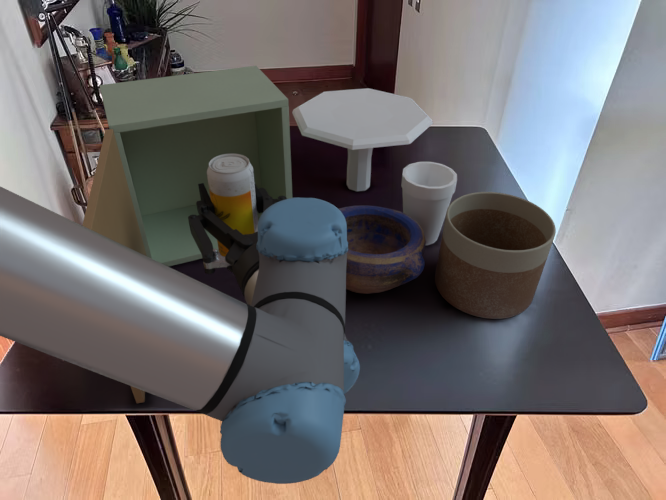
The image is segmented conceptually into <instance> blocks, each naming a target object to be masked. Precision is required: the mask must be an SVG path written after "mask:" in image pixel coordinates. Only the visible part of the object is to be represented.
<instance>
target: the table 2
mask: <svg viewBox="0 0 666 500" xmlns="http://www.w3.org/2000/svg"><path fill="white" fill-rule="evenodd" d="M291 113H292V116H293V118H294V121H295V122H296V125H297V128H298V129H299V132H300V134H301V136H302V137H306V138H310V139H314V140H317V141H321V142H324V143H327V144H331V145H334V146H337V147H342V148H344V149H347V164H346V186H347V188H348V189H349V190H351V191H354V192H365V191H367V190H369V188H370V187H371V177H372V174H371V173H372V155H373V150H374V148H384V147H393V146H404V145H406V146H407V145H411V144H412V143H413V142H415V140H416V139H418V138H419V136H421V135H422V134H423V133H424V132H425V131H426V130H428V128H430V127H431V126H432V125H433V124H434V122H433V119H432V118H431V117H430V116H429V115H428V114H427V113H426V111H424V109H423V108H421V107H420V105H419V104H418V103H416V101H415V100H414V99H413V98H411V97H409V96H405V95H399V94H395V93H391V92H386V91H382V90H379V89H375V88H374V89H373V88H369V87H367V88H354V89H340V90H327V91H323V92H320V93H318V94H317V95H315V96H314V97H312V98H311V99H309V100H307V101H306V102H304V103H302V104H301V105H298V106H297V107H295V108H293V109H292V112H291Z"/></svg>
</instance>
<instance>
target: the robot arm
mask: <svg viewBox="0 0 666 500" xmlns="http://www.w3.org/2000/svg"><path fill="white" fill-rule="evenodd" d="M198 186H199V192H200V198H201V200H200V201H197V202H196V205H197V211H198V214H199V215H190V216H188V220H189V226H190V231H191V234H192V236H193V238H194V240H195V242H196V244H197V246H198V248H199V250H200V252H201V254H202V263H203V269H204V273H205V274H206V275H212V274H214V273H215V271H216V269H223V268H226V269H227V271H229V272H231V273H232V274H233V275H234V277H235V280H236V282H237V284H238V287H239V289H240V291H241V293H242V296H243V297H244V300H245V302H243V301H241V300H239V299H237V298H235V297H233V296H231V295H229V294H227V293H224V292H222V291H220V290H218V289H216V288H215V287H211V286H210V285H208V284H206V283H204V282H201V281H199V280H197V279H195V278H193V277H191V276H189V275H187V274H185V273H182V272H181V271H178V270H176V269H174V268H172V267H171V266H169V267H168V266H166V265H164V264H162V263H160V262H157V261H155V260H153V259H151V258H149V257H147V256H145V255H143V254H141V253H139V252H137V251H134V250H132V249H130V248H128V247H126V246H124V245H122V244H120V243H118V242H116V241H113V240H111V239H109V238H107V237H105V236H103V235H101V234H99V233H97V232H95V231H93V230H90V229H88V228H86V227H84V226H82V224H81V223H78V222H76V221H74V220H71V219H69V218H67V217H66V216H63V215H61V214H60V213H57V212H55V211H53V210H51V209H49V208H47V207H45V206H42V205H40V204H38V203H36V202H34V201H32V200H29V199H27V198H26V197H24V196H21V195H19V194H17V193H15V192H13V191H11V190H9V189H7V188H4V187H3V186H0V337H1V338H4V339H6V340H9V341H13V342H15V343H17V344H20V345H23V346H26V347H28V348H31V349H33V350H36V351H39V352H41V353H44V354H46V355H49V356H51V357H54V358H57V359H59V360H62V361H65V362H67V363H70V364H73V365H75V366H78V367H80V368H83V369H84V370H85V369H86V370H87V371H91V372H93V373H96V374H98V375H102V376H104V377H106V378H109V379H112V380H114V381H116V382H120V383H123V384H125V385H128V386H130V387H131V386H132V387H135V388H138V389H140V390H143V391H145V393H148V394H151V395H153V396H155V397H159V398H162V399H164V400H166V401H169V402H172V403H174V404H177V405H180V406H182V407H185V408H187V409H190V410H193V411H196V412H198V413H201V414H202V415H205V416H207V417H209V418H212V419H215V420H218V421H220V422H221V423H220V430H219V432H220V435H221V436H220V451H221V454H222V457H223V459H224V460H225V461H226V462H227V464H228V465H230V466H232V467H236V468H237V471H238V473H240V474H241V475H243V476H244V477H246V478H248V479H251V480H255V481H258V482H262V483H269V484H276V485H287V484H289V485H290V484H291V485H292V484H298V483H301V482H306V481H309V480H312V479H314V478H316V477H318V476H320V475H321V474H322V473H323V472H324V471H326V470H328V469H329V468H330V467H331V466H332V465H333V464H334V463H335V461H336V459H337V457H338V456H339V453H340V448H341V443H342V433H343V422H344V414H345V408H346V404H347V399H346V394H347V393H348V392H349V391H350V390H351V389H352V388H353V386H354V385H355V384H356V382H357V380H358V378H359V376H360V372H361V371H360V370H361V365H360V361H359V358H358V356H357V354H356V352H355V350H354V348H355V347H354V345H353V343H352V342H351V341H349V340H348V338H347V336H346V332H345V331H346V306H347V305H346V301H347V289H346V265H347V251H348V244H349V243H348V241H347V224H346V220H345V217H344V215H343V214H342V212H341V211H340V210H339V208H338V207H336V206H335V205H334V204H332V203H331V202H328V201H326V200H323V199H320V198H317V197H316V198H315V197H292V198H290V199H287V198H286V197H285V196H279V197H278V199H272V197H271V196H269V194H268V193H267V191H266V190H265V189H264V188H259V189H258V188H257V186H256V184H255V194H256V205H257V211H258V213H262V215H261V216H260V218H259V221H258V232H255V233H253V234H245V235H243V234H242V233H240V232H239V231H238V230H237V229H235V230H233V229H232V228H231V227H229V226H228V225H227V224H226V223H225V222H223V221H222V220H221V219H220V218H218V217H217V216H216V215H215V210H214V205H213V203H212V201H211V199H210V196H209V194H208V192H207V190H206V188H205V185H204V183H201V184H198ZM205 230H207V231H208V232H209V233H210V234H211V235H212V236H213V237H215V238H216V239H217V240H218V241H219V242H220V243H221V244H223V245H224V246H225V247H226V248H227V249H228V250H229V251H228V253H227V254H226V256H222V255H221V254H220V253H219V252H217V249H213V244H212V242H211V240H210V238H209V237H208V235H207V233H206V231H205Z"/></svg>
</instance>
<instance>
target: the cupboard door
mask: <svg viewBox="0 0 666 500" xmlns="http://www.w3.org/2000/svg"><path fill="white" fill-rule="evenodd" d="M81 225H82V226H84V227H86V228H88V229H90V230H93V231H95V232H97V233H99V234H101V235H103V236H105V237H107V238H109V239H111V240H113V241H116V242H118V243H120V244H122V245H124V246H126V247H128V248H130V249H132V250H134V251H137V252H139V253H141V254H143V255H145V256H147V255H146V251H145V247H144V244H143V240H142V236H141V232H140V229H139V225H138V221H137V217H136V214H135V210H134V206H133V202H132V199H131V195H130V191H129V187H128V184H127V180H126V176H125V172H124V168H123V165H122V161H121V157H120V153H119V150H118V146H117V142H116V138H115V135H114V131H113V129H109V128H108V129H107V128H106V129H105V130H104V135H103V138H102V144H101V147H100V150H99V155H98V159H97V163H96V167H95V171H94V175H93V180H92V184H91V188H90V192H89V196H88V200H87V205H86V209H85V213H84V216H83V221H82V224H81ZM130 389H131V392H132V395H133V398H134V400H135V403H136V404H142V403H145V401H146V392H145V391H143V390H140V389H138V388H135V387H132V386H130Z"/></svg>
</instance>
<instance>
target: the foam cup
mask: <svg viewBox="0 0 666 500" xmlns="http://www.w3.org/2000/svg"><path fill="white" fill-rule="evenodd" d="M400 183H401V185H400V186H401V188H402V189H401V191H402V212H403V213H404V214H406V215H408V216H409V217H411V218H412V219H413V220H415V221H416V222H417V223H418V224H419V225H420V227H421V228H422V230H423V232H424V236H425V240H426V244H425V246H430V245H433V244H435V243H436V242H437V241H438V239H439V236H440V234H441V231H442V227H443V226H444V223H445V217H446V212H447V209H448V207H449V205H450V204H451V202H452V198H453V196H454V194H455V193H456V188H457V183H458V174H457V172H456V171H454V169H453V168H451V167H449V166H447V165H445V164H444V163H439V162H435V161H417V162H413V163H408V164H407V165H406V166H405V167H403V168H402V175H401V182H400Z"/></svg>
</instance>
